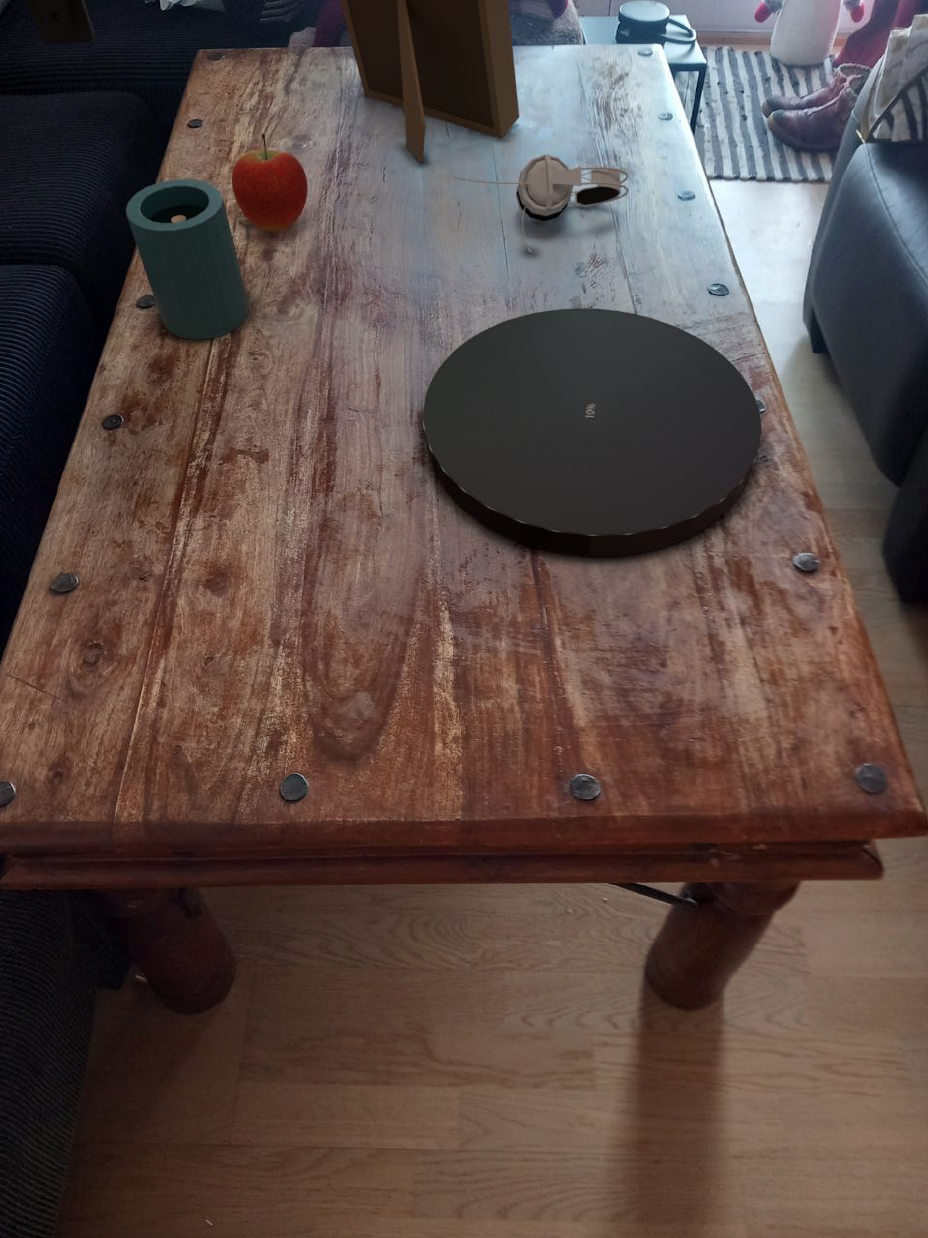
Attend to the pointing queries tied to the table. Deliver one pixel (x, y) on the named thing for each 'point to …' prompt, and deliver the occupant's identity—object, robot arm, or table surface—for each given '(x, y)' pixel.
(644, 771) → the table surface
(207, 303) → the jar
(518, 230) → the table surface
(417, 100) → the photo frame
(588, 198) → the headphones
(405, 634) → the table surface
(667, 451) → the disc
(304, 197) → the apple
